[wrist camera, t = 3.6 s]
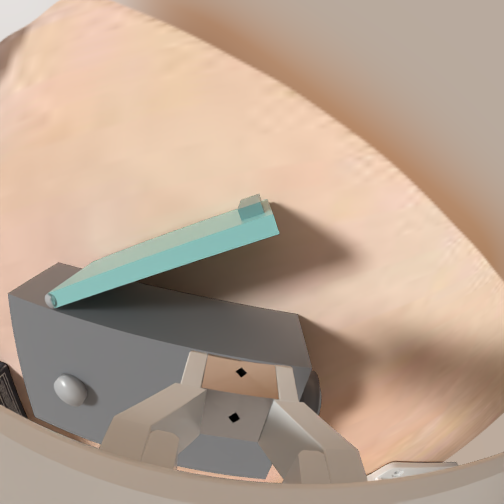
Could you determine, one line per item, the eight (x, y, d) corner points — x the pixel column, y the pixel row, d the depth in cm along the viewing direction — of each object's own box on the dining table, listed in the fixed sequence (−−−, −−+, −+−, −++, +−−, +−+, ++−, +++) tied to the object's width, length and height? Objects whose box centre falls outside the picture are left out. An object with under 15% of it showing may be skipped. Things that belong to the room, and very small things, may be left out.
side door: (264, 190, 21) (269, 201, 15) (271, 213, 21) (279, 233, 15) (85, 256, 22) (38, 286, 16) (93, 274, 23) (49, 309, 16)
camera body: (328, 319, 24) (354, 380, 16) (288, 424, 27) (296, 488, 20) (58, 262, 23) (1, 298, 15) (67, 373, 26) (30, 422, 19)
